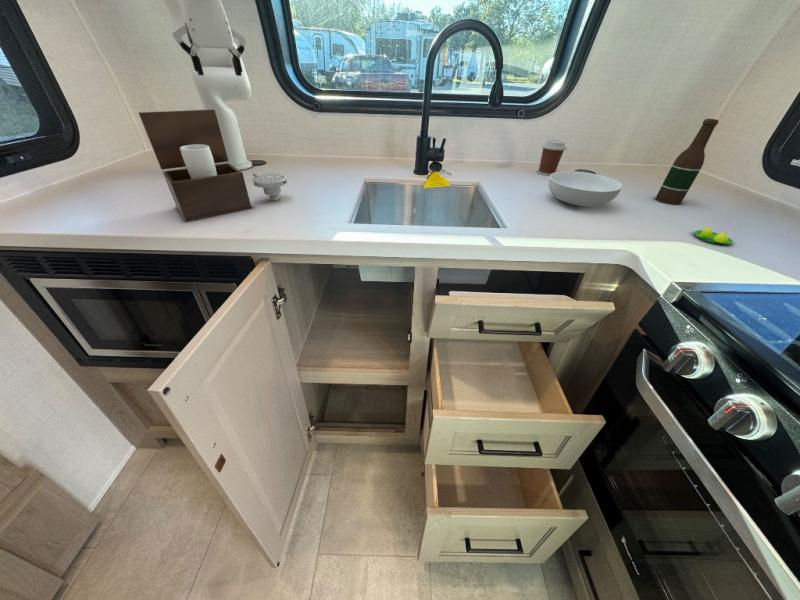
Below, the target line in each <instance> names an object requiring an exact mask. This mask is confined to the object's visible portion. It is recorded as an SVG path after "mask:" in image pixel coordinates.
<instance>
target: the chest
mask: <svg viewBox="0 0 800 600" xmlns="http://www.w3.org/2000/svg"><path fill="white" fill-rule="evenodd" d="M215 167H216V172H217V175H216V176H209V177H202V178H195V179H191V177H190V175H189V172H188V170H187V168H186V167H183V168H175V169H167V170H162V175H163V177H164V180H165V182H166V184H167V187H168V189H169V192H170V195H171V197H172V200H173V202H174V205H175V207H176V209H177V210H178V212H179V214H180V215H181V216H182V218H183V219H184V221H185V222H191V221H196V220H201V219H207V218H211V217H214V216H215V217H216V216H220V215H225V214H231V213H235V212H240V211H246V210H249V209H250V210H251V209H252V207H253V206H252V204H251V199H250V196H249V192H248V189H247V184H246V181H245V177H244V173H243V172H242V170H238V169H237V168H235V167H234V166H232V165H231V164H230V163H224V164H218V163H215Z"/></svg>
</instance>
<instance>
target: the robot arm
mask: <svg viewBox="0 0 800 600" xmlns="http://www.w3.org/2000/svg"><path fill="white" fill-rule="evenodd" d="M162 1H163V3H164V5H165V6H166V9H167V11H168V12H169V13H170V15H171V17H172V19H174V22H176V24H177V25H178V27H179V28H178V29H176V30H174V31H173V32H172V33H171V35H172V38H173V39H174V41H176V43H177V44H178V45H179V47H180V48H181V49H182V50H183V51H184V52H186V54H188V56H189V57H190V59H191V62H192V65H193V69H194V70H193V72H192V82H193V84H194V88H195V89H196V91H197V94H198V96H199V98H200V101H201V103H202V107H203V110H209V109H214V110H215V112H216V116H217V120H218V124H219V127H220V131H221V135H222V138H223V142H224V146H225V149H226V153H227V157H228V160H229V162H220V163H217V164H224V163H230V164H231V165H232V166H234V167H235V168H237V169H238V170H240V171H242V170H247V169H250V168H252V167H253V162H252V161H250V160H248V159H247V155H246V150H245V146H244V142H243V139H242V135H241V130H240V126H239V121H238V119H237V115H236V113H235V112H234V111H233V110H232V108H230V106H229V105H227V104H226V103H225V102H229V101H246V100H250V98H251V97H252V93H253V92H252V87H251V83H250V79H249V76H248V73H247V71H246V67H245V64H244V61H243V58H242V55H243V53H244V51H245V47H246V44H247V39H246V38H245V37H244V36H243V35H242V34H240V33H238V32H236V31H235V30H233V29H232V28H231V26H230V23H229V20H228V16H227V13H226V10H225V7H224V5H223V2H222V0H162ZM182 37H183V38H182ZM234 39H235V40H237V41H238V45H237V44H236V42H235V41H234Z"/></svg>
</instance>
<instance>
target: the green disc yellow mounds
mask: <svg viewBox="0 0 800 600" xmlns="http://www.w3.org/2000/svg"><path fill="white" fill-rule="evenodd" d="M693 234H694V235H695V236H696V237H697V238H698V239H700V240H702V241H704V242H707V243H711V244H715V245H728V244H729V245H730V244H733V243H734V241H733V239H732V238H730V237H729V236H728V235H727V233H726V232H722V233H718V232H714V231H712V230H711V228H710V227H709V226H708V227H706V228H704V229H703V230H701V229H699V230H698V229H697V230H694V232H693Z"/></svg>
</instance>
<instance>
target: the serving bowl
mask: <svg viewBox="0 0 800 600" xmlns="http://www.w3.org/2000/svg"><path fill="white" fill-rule="evenodd" d="M548 176H549V177H548V189H549V191H550V193H551V194H552V195H553V197H554V198H556V199H558V200H559V201H561V202H564V203H566V204H569V205H572V206H576V207H598V206H603V205H607V204H608V203H610V202H612V201H613V200H614V199H615V198H617V197H618V195H619V194H620V192H621V191H622V189H623V185H622V183H621V182H620V181H618V180H617V179H613V178H611V177H608V176H604V175H601V174H596V173H592V172H585V171H576V170H562V171H555V173H552V174H551V175H548Z"/></svg>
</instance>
